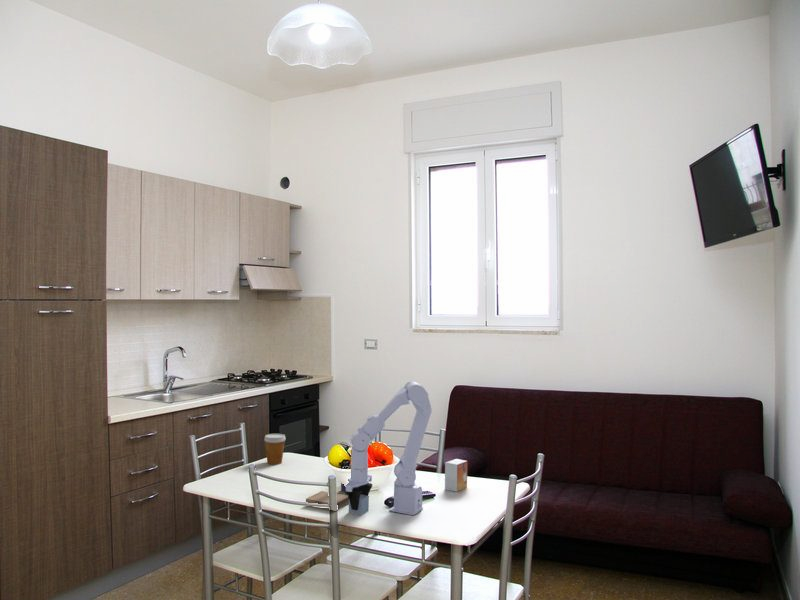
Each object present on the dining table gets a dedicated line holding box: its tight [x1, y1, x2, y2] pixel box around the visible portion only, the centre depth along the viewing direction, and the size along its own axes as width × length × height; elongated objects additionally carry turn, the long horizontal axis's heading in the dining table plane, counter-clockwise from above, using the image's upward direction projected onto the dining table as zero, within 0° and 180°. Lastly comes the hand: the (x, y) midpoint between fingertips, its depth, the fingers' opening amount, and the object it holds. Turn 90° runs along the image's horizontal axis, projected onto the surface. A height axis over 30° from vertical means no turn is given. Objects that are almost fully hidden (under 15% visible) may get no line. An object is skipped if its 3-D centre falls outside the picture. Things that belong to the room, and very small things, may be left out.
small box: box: [444, 458, 468, 492], centre depth 239 cm, size 8×6×10 cm
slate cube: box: [348, 495, 370, 516], centre depth 211 cm, size 5×5×5 cm
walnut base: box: [305, 490, 349, 511], centre depth 217 cm, size 12×10×2 cm
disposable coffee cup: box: [263, 433, 287, 466], centre depth 272 cm, size 10×10×12 cm
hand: (358, 507), depth 211 cm, fingers closed on slate cube, 5 cm apart
